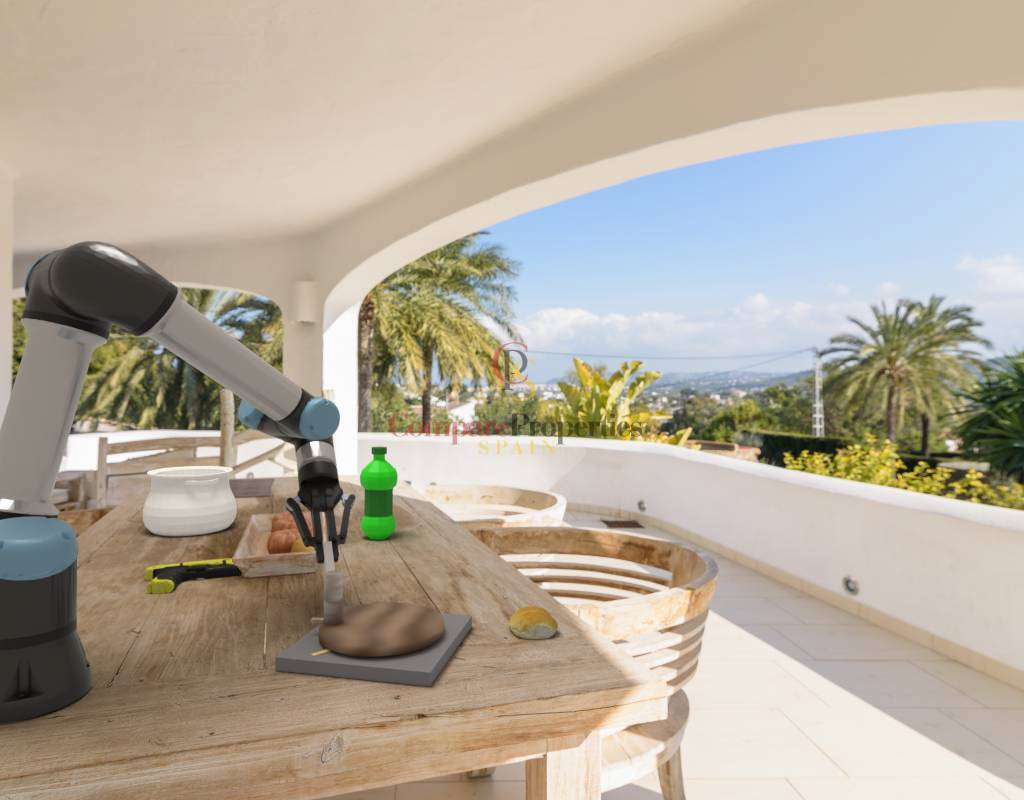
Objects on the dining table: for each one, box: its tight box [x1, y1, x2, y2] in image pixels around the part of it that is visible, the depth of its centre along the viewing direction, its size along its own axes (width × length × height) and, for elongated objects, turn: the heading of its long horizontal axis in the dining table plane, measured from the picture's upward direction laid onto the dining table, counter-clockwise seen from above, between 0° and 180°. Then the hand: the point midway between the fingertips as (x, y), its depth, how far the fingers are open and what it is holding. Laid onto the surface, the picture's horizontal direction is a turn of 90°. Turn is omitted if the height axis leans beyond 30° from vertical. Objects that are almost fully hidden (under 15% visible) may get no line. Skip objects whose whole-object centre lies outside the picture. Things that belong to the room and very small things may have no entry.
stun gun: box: [144, 557, 242, 595], centre depth 144 cm, size 3×19×15 cm
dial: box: [310, 570, 444, 657], centre depth 109 cm, size 22×20×10 cm
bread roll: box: [508, 605, 559, 640], centre depth 118 cm, size 8×9×4 cm
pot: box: [142, 465, 238, 537], centre depth 193 cm, size 26×24×17 cm
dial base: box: [275, 604, 473, 687], centre depth 109 cm, size 24×24×2 cm
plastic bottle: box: [359, 446, 398, 541], centre depth 186 cm, size 10×10×25 cm
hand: (330, 577), depth 117 cm, fingers closed
